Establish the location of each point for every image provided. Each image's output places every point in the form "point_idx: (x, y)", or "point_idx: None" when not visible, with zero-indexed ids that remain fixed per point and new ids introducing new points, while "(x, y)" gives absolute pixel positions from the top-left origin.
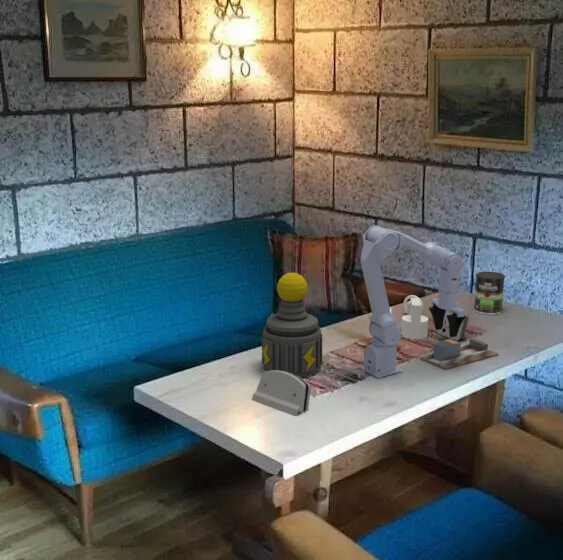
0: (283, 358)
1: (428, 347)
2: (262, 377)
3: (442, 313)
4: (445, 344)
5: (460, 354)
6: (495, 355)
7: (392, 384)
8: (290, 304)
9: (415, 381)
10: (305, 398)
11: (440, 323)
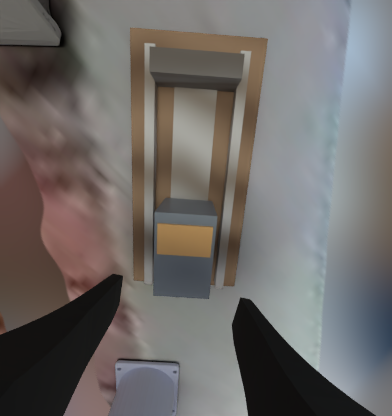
0: None
1: (67, 188)
2: None
3: (60, 365)
4: (190, 274)
5: (190, 173)
6: (264, 58)
7: (216, 410)
8: None
9: (236, 373)
10: None
11: (105, 308)
